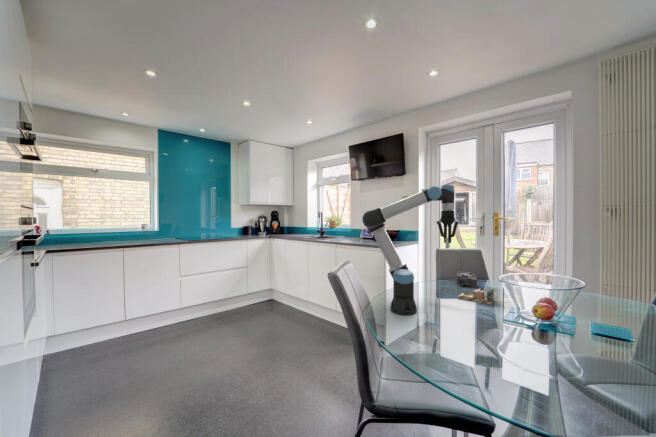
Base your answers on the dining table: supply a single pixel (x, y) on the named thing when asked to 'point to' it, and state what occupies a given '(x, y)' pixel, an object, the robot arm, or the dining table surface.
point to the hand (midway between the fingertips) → (447, 248)
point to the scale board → (485, 300)
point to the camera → (466, 279)
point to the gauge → (478, 294)
